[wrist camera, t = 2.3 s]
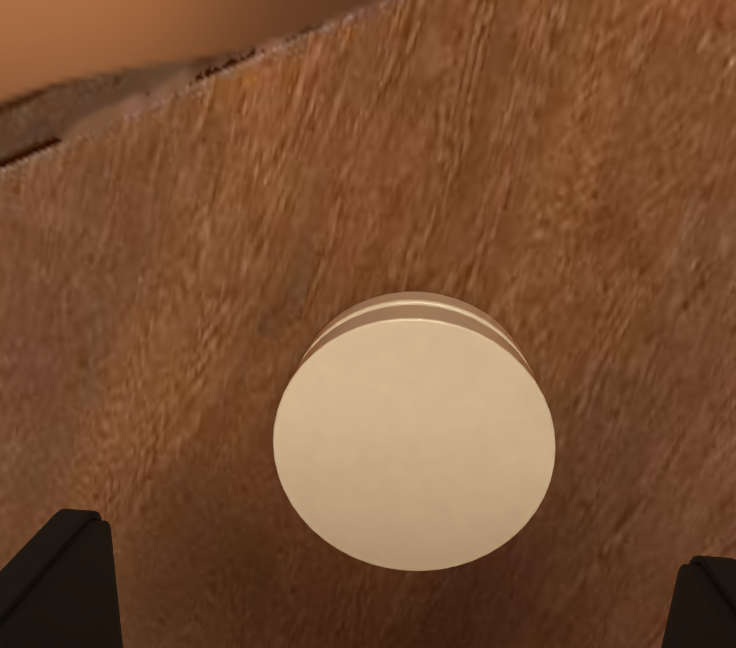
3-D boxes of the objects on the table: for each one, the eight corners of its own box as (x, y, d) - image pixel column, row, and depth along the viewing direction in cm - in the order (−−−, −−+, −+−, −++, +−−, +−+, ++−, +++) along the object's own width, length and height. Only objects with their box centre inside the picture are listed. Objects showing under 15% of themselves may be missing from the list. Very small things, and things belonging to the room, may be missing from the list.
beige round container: (547, 294, 16) (575, 327, 13) (519, 513, 18) (538, 583, 15) (296, 280, 17) (270, 309, 14) (296, 495, 19) (273, 560, 16)
